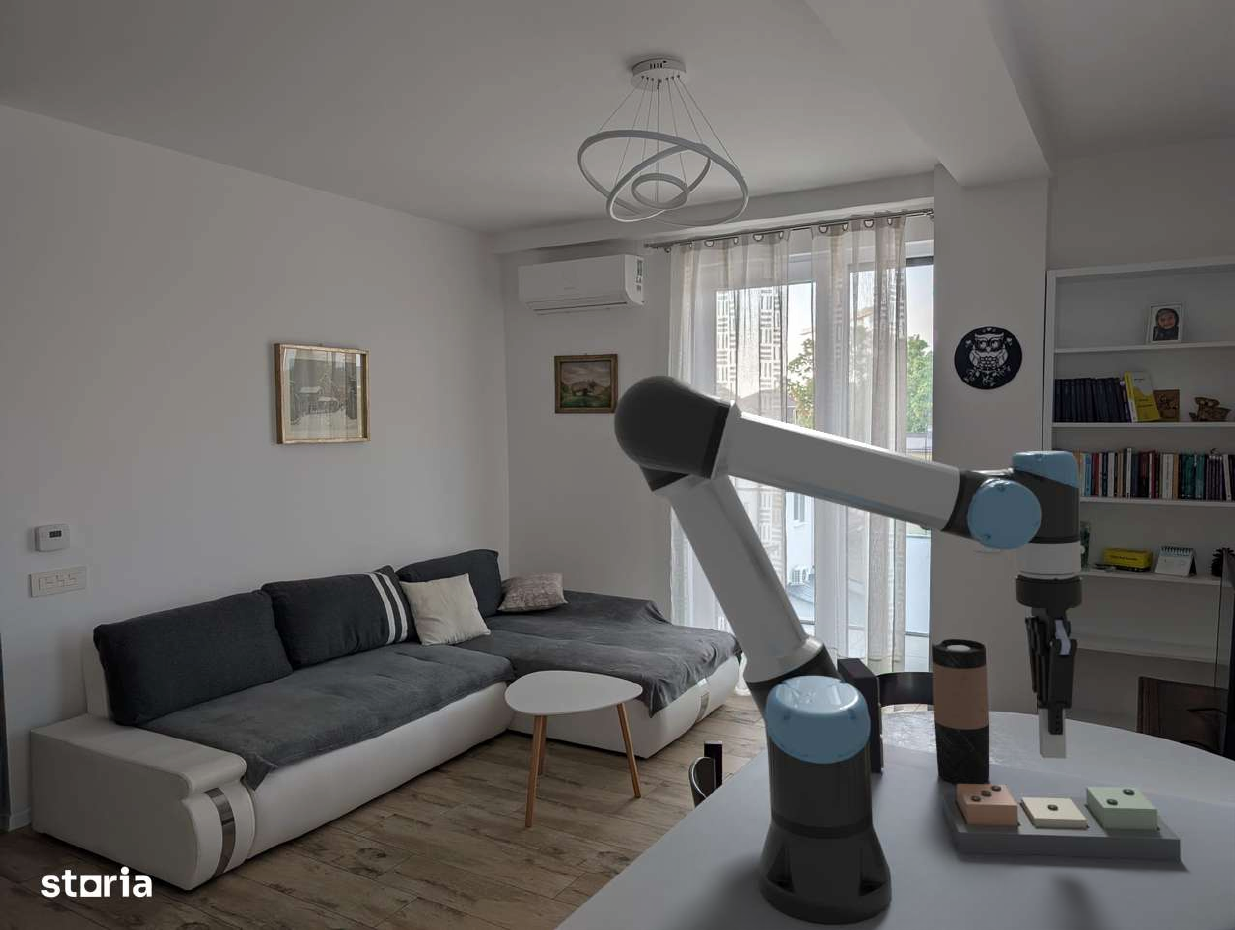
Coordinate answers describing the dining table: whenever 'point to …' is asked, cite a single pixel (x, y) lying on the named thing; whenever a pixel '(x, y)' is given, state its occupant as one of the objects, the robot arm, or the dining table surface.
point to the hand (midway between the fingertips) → (1052, 755)
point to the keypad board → (1060, 836)
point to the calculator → (869, 688)
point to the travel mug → (961, 711)
